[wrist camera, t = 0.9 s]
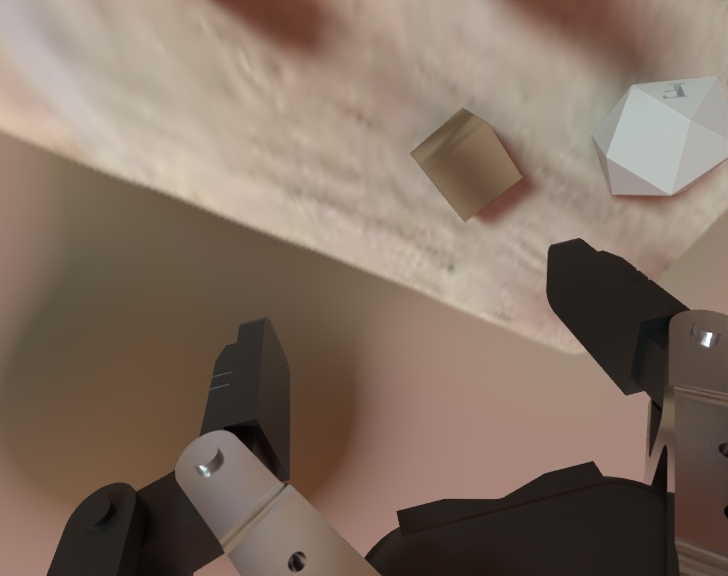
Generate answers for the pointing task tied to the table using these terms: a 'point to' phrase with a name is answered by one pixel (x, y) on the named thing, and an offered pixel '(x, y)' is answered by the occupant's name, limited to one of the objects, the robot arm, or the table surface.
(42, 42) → the table surface
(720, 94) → the die
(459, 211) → the walnut cube
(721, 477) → the robot arm
